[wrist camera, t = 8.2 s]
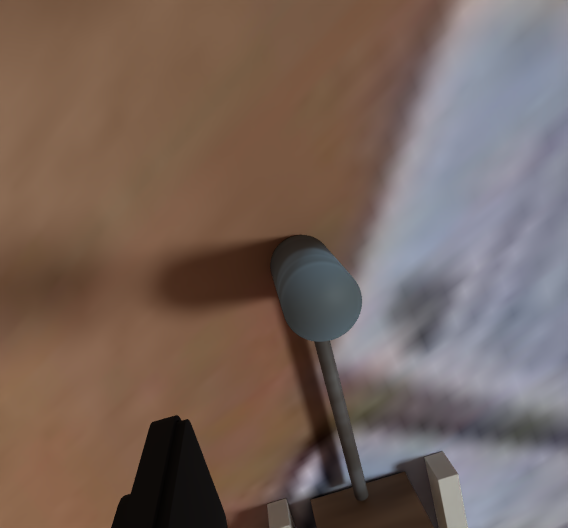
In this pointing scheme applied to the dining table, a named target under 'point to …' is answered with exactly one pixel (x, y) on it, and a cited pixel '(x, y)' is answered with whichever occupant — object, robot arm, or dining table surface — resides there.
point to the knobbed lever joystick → (338, 382)
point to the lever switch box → (442, 490)
